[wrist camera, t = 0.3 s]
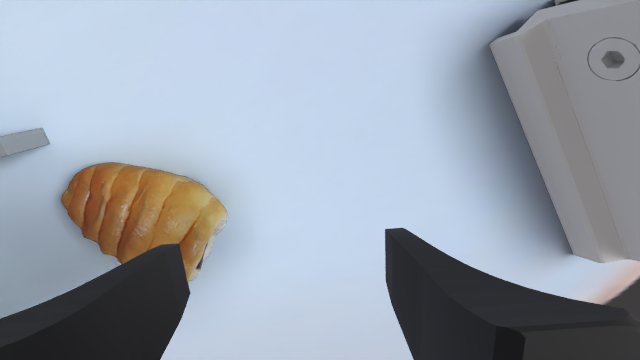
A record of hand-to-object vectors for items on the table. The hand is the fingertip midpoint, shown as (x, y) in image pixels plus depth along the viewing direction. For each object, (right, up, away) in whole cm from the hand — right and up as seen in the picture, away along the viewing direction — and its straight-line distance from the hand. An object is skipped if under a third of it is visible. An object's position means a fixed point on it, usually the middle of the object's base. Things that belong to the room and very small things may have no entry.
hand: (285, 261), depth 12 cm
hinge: (+18, +6, +10) cm, 22 cm away
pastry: (-9, +1, +11) cm, 14 cm away
